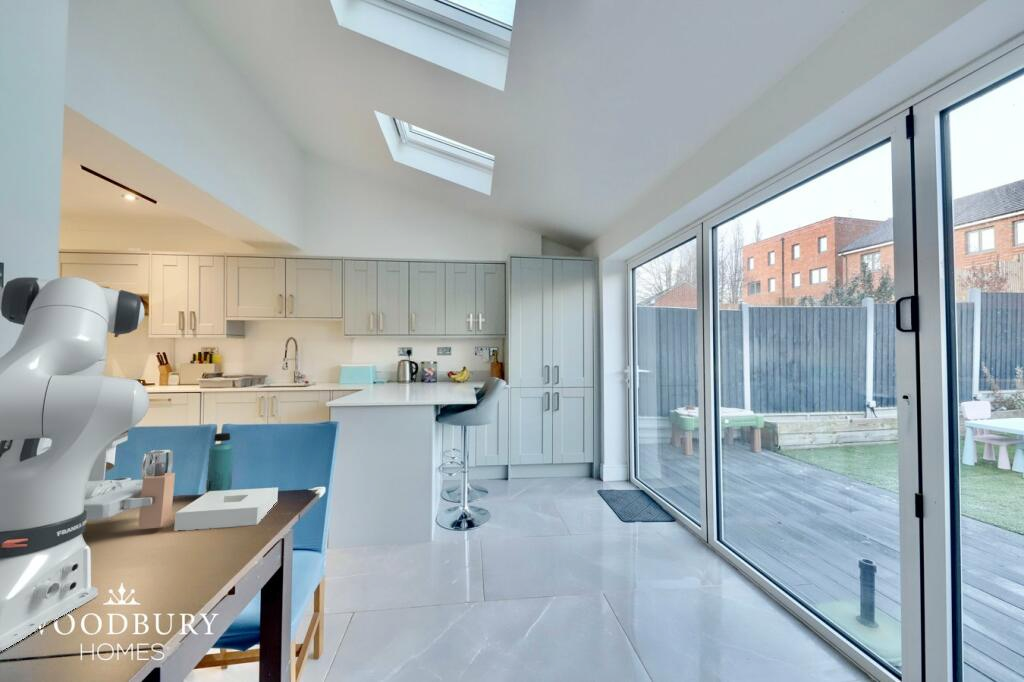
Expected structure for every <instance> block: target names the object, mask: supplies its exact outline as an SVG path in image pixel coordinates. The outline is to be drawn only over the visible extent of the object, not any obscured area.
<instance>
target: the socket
mask: <svg viewBox="0 0 1024 682" xmlns="http://www.w3.org/2000/svg"><path fill="white" fill-rule="evenodd" d="M278 494H279V487H264V488H245V489H243V488H242V489H231V490H224V491H209V492H208V493H206V492H205V494H203V495H201V496H200V497H198V498H197V499H195V500H194V501H192V502H190V503H189V504H187V505H186V506H184V507H183V508H180V509H179V510H178V511H175V516H174V517H175V518H174V525H173V526H174V529H173V531H174V532H179V531H178V530H186V531H196V530H195V529H199V530H208V529H209V530H210V528H211V529H221V528H235V527H246V526H247V527H248V526H257V525H258V524H259V523H260V522H261V521H262V520H261V519H264V518H265V516H267V515H268V513H269V512H270V511H271V510H272V509H273V508H274V507H273V505H274V504H275V503H276V502H277V503H278V496H279V495H278ZM277 503H276V504H277ZM276 504H275V505H276ZM275 505H274V506H275ZM272 507H273V508H272ZM271 508H272V509H271ZM270 509H271V510H270ZM269 510H270V511H269ZM268 511H269V512H268ZM267 512H268V513H267Z"/></svg>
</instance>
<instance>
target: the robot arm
mask: <svg viewBox="0 0 1024 682" xmlns="http://www.w3.org/2000/svg"><path fill="white" fill-rule="evenodd" d="M0 312H1V316H2V317H3V318H5V319H6V320H7V321H8V322H10V323H13V324H18V325H22V326H23V327H22V328H21V331H20V333H19V336H18V338H17V339H16V341H15V343H14V345H13V347H12V348H11V349H9V350H8V351H7V352H6V353H5V354H4V355H2V356H1V357H0V650H4V649H6V648H8V647H10V646H11V645H13V644H14V643H16V642H19V641H20V640H22V639H24V638H25V637H26V636H28V635H30V634H31V633H32V632H34V631H35V630H36V629H37V628H38V627H39V626H40V625H41V624H43V623H45V622H48V621H50V620H53V619H56V618H58V617H61V616H63V615H64V616H66V615H68V614H69V613H71V612H73V611H74V610H76V609H78V608H80V607H81V606H83V605H85V604H86V603H89V601H91V600H93V599H95V598H96V597H97V596H99V595H98V594H99V590H98V588H97V587H95V586H92V572H91V571H92V560H91V559H92V558H91V548H90V546H89V545H88V544H87V543H86V540H85V539H84V537H83V533H84V532H85V531H86V528H87V527H86V526H87V525H86V524H87V523H88V521H101V520H106V519H110V518H111V517H114V516H116V515H118V514H121V513H124V512H126V511H128V510H131V509H134V508H140V506H149V505H151V504H153V503H155V497H154V496H152V497H145V498H141V494H142V484H143V479H142V478H141V479H132V478H131V477H121V478H117V479H105V480H100V481H88V480H89V476H90V472H91V469H92V467H93V465H94V463H95V461H96V459H97V458H98V456H99V455H100V453H101V452H102V451H103V450H104V449H105V447H106V446H107V445H108V444H109V443H111V442H112V441H113V440H114V439H115V438H117V437H118V436H119V435H121V434H122V433H124V432H125V431H127V430H128V431H129V430H130V429H132V428H134V427H135V426H136V425H138V424H139V423H140V422H141V421H142V420H143V419H144V418H145V416H146V415H147V412H148V410H149V408H150V397H149V392H148V391H147V389H146V388H145V387H144V385H143V384H142V383H140V381H138V380H136V379H133V378H132V379H131V378H125V377H120V376H109V375H104V372H105V368H106V361H107V355H108V333H111V334H114V335H113V337H114V338H118V337H119V336H120V335H126V334H130V333H132V332H133V331H136V330H137V329H138V327H139V326H140V325H141V324H142V323H143V320H144V319H145V312H146V310H145V306H144V303H143V302H142V298H141V297H140V296H139V294H136V293H133V292H131V291H127V290H122V289H120V290H116V289H112V288H108V287H104V286H100V285H99V284H97V282H94V281H91V280H89V279H87V278H86V279H85V278H81V277H76V276H63V277H62V276H61V277H58V278H54V279H39V278H38V277H34V276H33V277H31V276H29V277H28V276H27V277H26V276H25V277H16V278H12V279H11V280H8V281H7V282H6V284H5V285H4V286H3V287H2V288H1V289H0ZM45 439H50V440H51V445H49V446H46V447H43V446H44V442H45ZM75 608H76V609H75ZM73 609H74V610H73ZM72 610H73V611H72ZM70 611H71V612H70ZM68 612H69V613H68ZM67 613H68V614H67ZM65 614H66V615H65ZM64 616H63V617H64ZM61 618H62V617H61ZM30 636H31V635H30ZM25 639H26V638H25ZM25 639H24V640H25ZM22 641H23V640H22ZM20 642H21V641H20ZM20 642H19V643H20ZM13 646H14V645H13ZM10 648H11V647H10ZM8 649H9V648H8ZM6 650H7V649H6Z"/></svg>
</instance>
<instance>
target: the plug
mask: <svg viewBox="0 0 1024 682" xmlns="http://www.w3.org/2000/svg"><path fill="white" fill-rule="evenodd" d="M165 468H166V462H162V463H156V464H155V473H154V474H152V475H150V476H147V477H145V478H143V484H142V494H141V498H145V497H152V496H154V497H155V503H153V504H151V505H149V506H140V507H139V516H138V526H137V529H138V530H141V529H142V530H143V529H156V528H162V527H163V526H165V525H166V524H168V523H169V522H171V521H172V511H173V501H174V489H175V478H176V472H171V473H165Z"/></svg>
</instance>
